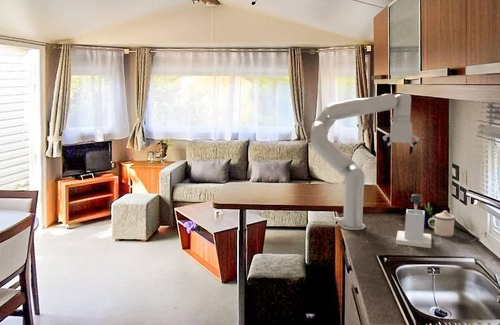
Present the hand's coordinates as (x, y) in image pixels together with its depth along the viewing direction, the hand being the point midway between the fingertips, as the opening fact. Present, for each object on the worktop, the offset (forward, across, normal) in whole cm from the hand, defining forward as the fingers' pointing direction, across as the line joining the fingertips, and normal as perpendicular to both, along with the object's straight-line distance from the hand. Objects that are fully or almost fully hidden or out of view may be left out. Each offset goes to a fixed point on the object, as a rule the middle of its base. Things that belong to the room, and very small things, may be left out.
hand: (399, 153), depth 221 cm
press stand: (+38, +9, -18) cm, 43 cm away
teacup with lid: (+38, +21, -1) cm, 44 cm away
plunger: (+34, +9, -18) cm, 40 cm away
